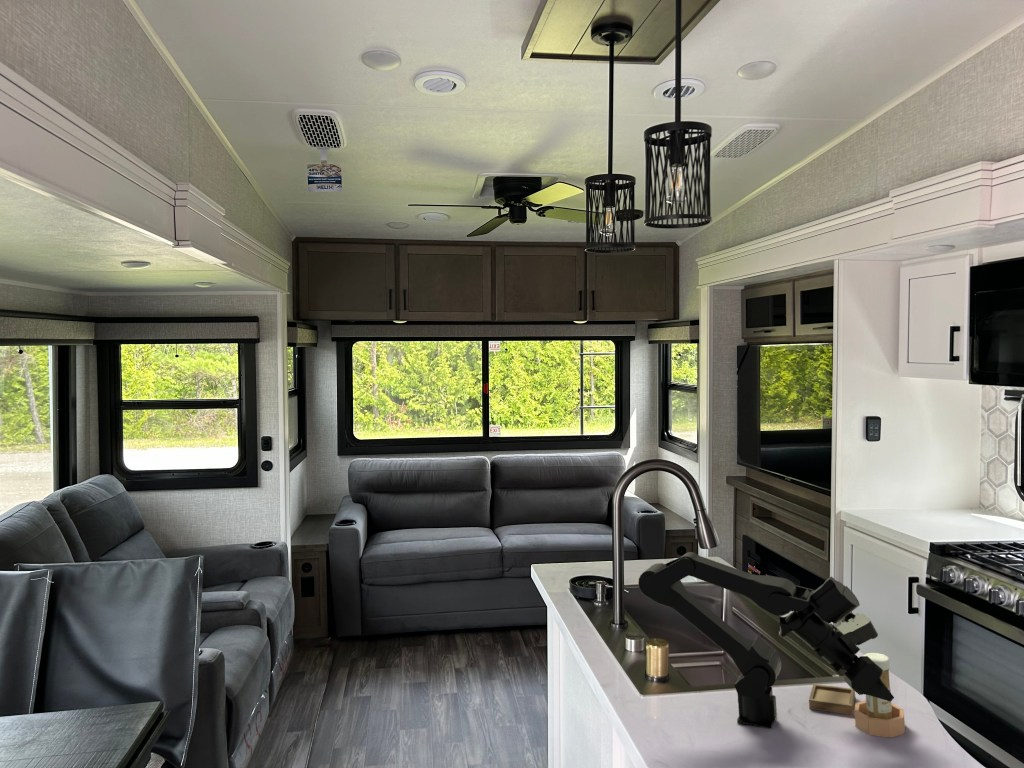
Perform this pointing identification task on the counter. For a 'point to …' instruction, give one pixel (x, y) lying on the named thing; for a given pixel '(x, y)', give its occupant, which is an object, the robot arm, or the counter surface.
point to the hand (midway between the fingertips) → (881, 688)
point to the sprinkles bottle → (877, 705)
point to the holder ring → (880, 721)
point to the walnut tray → (832, 699)
